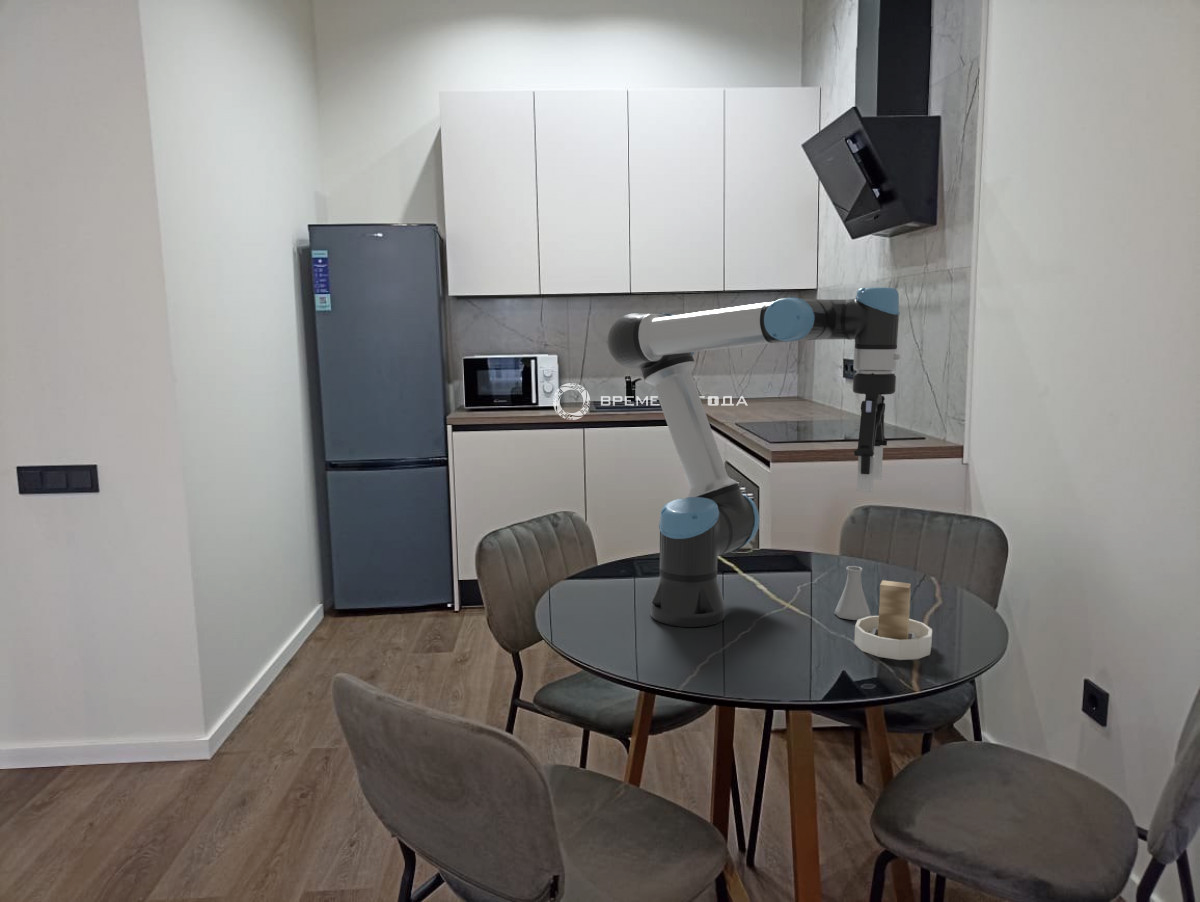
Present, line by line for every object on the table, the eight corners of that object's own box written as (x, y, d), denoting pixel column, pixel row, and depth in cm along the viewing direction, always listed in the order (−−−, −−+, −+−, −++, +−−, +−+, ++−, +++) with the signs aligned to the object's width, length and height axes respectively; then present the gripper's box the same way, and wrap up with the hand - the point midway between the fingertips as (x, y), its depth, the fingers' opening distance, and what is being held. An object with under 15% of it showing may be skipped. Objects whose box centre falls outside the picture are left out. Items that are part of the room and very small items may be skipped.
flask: (872, 622, 173) (874, 574, 171) (835, 620, 174) (836, 571, 173) (869, 611, 180) (871, 564, 178) (833, 608, 181) (834, 562, 180)
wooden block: (877, 642, 160) (880, 584, 158) (879, 637, 162) (882, 580, 161) (906, 646, 158) (909, 588, 156) (908, 641, 160) (910, 583, 159)
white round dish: (850, 652, 157) (851, 634, 156) (860, 629, 169) (861, 611, 168) (928, 664, 152) (929, 645, 151) (932, 639, 164) (933, 621, 163)
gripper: (888, 376, 148) (883, 498, 151) (902, 369, 170) (897, 475, 174) (843, 375, 151) (838, 495, 154) (862, 368, 173) (858, 473, 177)
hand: (869, 485), depth 164 cm, fingers open, 13 cm apart
